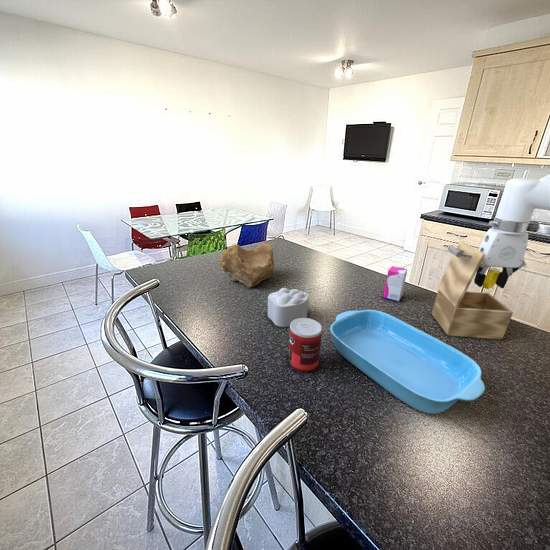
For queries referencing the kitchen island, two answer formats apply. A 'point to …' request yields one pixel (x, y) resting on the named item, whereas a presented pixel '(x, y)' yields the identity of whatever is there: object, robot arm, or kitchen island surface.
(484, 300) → the chest
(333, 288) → the kitchen island surface
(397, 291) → the supplement box
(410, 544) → the kitchen island surface
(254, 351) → the kitchen island surface
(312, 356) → the canned food
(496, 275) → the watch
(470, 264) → the lid
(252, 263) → the jagged tan rock
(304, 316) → the lumpy-topped squat cylinder
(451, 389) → the casserole dish
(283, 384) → the kitchen island surface
